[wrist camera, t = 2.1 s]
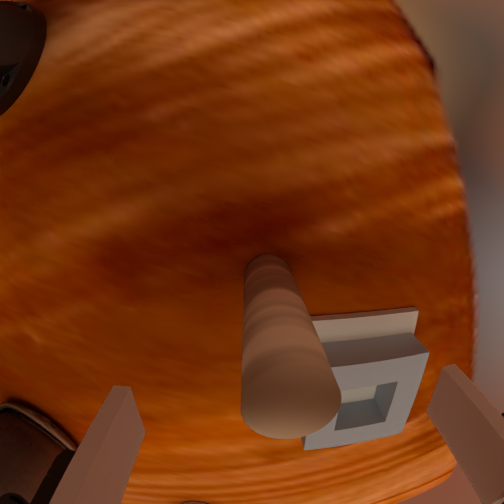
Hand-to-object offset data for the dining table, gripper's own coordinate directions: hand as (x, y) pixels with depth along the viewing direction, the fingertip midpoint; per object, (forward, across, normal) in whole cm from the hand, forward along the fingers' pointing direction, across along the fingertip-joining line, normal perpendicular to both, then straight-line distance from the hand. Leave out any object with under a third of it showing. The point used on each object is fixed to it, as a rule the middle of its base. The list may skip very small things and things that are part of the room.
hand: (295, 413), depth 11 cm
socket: (+16, +9, -12) cm, 22 cm away
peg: (+16, 0, 0) cm, 16 cm away
